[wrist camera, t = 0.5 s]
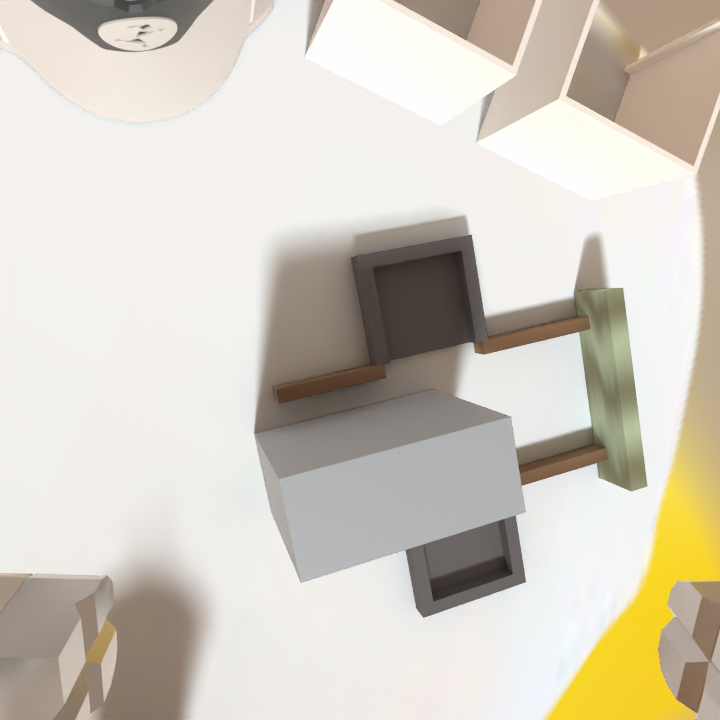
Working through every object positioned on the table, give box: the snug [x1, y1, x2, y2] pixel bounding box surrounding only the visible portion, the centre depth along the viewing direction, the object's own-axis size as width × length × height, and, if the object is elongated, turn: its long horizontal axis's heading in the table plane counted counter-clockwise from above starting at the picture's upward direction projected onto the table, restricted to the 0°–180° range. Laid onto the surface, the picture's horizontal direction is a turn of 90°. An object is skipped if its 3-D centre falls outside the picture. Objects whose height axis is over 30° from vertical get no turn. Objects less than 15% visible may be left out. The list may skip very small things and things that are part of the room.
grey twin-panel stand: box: [305, 0, 720, 200], centre depth 42 cm, size 25×11×11 cm, turn 70°
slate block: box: [254, 389, 526, 583], centre depth 41 cm, size 6×14×12 cm, turn 101°
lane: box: [273, 288, 647, 491], centre depth 47 cm, size 16×27×4 cm, turn 101°
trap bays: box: [351, 235, 526, 618], centre depth 48 cm, size 28×9×2 cm, turn 11°
